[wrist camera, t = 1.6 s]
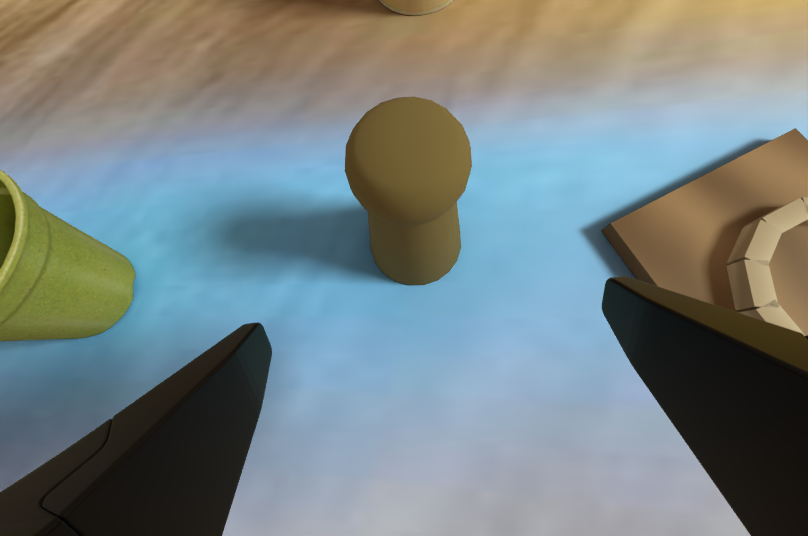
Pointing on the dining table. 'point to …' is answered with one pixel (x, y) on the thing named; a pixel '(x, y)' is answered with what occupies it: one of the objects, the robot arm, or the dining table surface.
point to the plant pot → (55, 274)
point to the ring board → (731, 235)
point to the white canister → (415, 6)
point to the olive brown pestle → (410, 186)
